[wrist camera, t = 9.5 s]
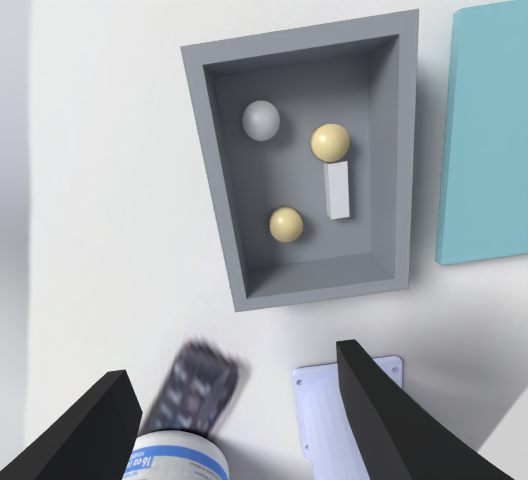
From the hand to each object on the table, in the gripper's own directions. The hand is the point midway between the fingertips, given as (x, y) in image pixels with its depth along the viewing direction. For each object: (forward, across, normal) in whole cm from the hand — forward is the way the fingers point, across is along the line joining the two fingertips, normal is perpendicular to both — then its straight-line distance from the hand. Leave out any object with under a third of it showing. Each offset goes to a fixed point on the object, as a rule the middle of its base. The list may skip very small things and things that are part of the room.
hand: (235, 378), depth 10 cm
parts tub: (+9, -4, -5) cm, 11 cm away
